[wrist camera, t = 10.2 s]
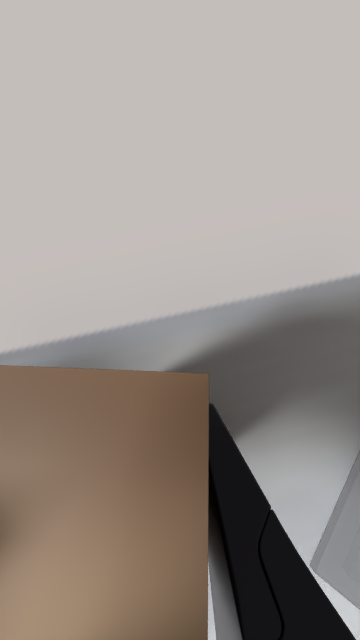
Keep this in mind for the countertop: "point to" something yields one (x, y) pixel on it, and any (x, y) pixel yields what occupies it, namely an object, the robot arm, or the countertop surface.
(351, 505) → the grey square socket
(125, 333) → the countertop surface
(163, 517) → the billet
